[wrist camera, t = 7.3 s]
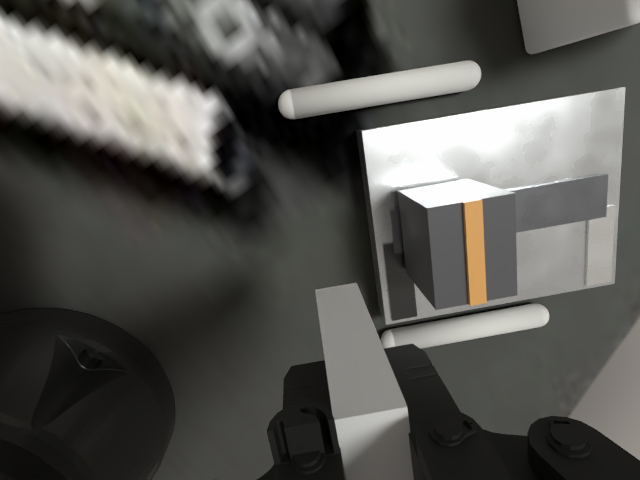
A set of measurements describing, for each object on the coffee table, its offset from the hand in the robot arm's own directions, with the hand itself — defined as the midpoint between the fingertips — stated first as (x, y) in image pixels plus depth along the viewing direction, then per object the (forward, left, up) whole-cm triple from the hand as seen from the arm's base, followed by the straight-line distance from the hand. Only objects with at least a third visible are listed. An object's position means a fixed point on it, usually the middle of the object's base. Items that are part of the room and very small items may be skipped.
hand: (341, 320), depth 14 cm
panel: (+11, 0, -12) cm, 16 cm away
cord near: (+5, +8, -12) cm, 15 cm away
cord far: (+9, -8, -12) cm, 16 cm away
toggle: (+7, 0, -9) cm, 11 cm away
